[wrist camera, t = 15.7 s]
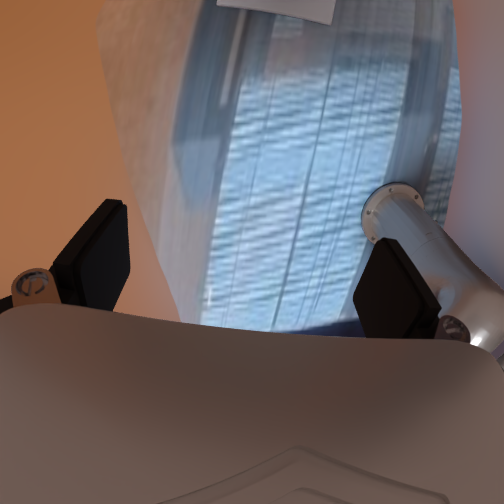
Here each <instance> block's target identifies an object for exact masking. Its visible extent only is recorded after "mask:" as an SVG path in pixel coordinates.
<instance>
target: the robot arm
mask: <svg viewBox="0 0 504 504" xmlns="http://www.w3.org/2000/svg"><path fill="white" fill-rule="evenodd" d="M361 224H362V229H363V231H364V233H365V235H366V237H367V238H368V239H369V240H370V241H371V242H372V243H373V244H375V246H374V248H373V251H372V253H371V255H370V258H369V260H368V262H367V265H366V267H365V269H364V272H363V274H362V276H361V278H360V281H359V283H358V285H357V287H356V289H355V292H354V294H353V302H354V305H355V308H356V311H357V313H358V316H359V319H360V322H361V324H362V327H363V330H364V333H365V336H366V338H352V337H331V336H314V335H299V334H286V333H273V332H262V331H251V330H241V329H232V328H223V327H214V326H206V325H198V324H190V323H182V322H174V321H168V320H161V319H154V318H147V317H142V316H136V315H130V314H124V313H118V312H113V309H114V307H115V305H116V302H117V300H118V298H119V296H120V293H121V291H122V289H123V287H124V285H125V282H126V280H127V278H128V276H129V273H130V254H129V239H128V219H127V206H126V205H125V204H123V203H122V201H121V200H115V199H106V200H105V201H104V202H103V203H102V204H101V205H100V206H99V208H97V210H96V211H95V212H94V213H93V214H92V215H91V216H90V217H89V219H88V220H87V221H86V222H85V223H84V224H83V226H82V227H81V228H80V229H79V231H78V232H77V233H76V234H75V235H74V236H73V238H72V239H71V240H70V241H69V243H68V244H67V245H66V246H65V248H64V249H63V250H62V251H61V253H60V254H59V255H58V256H57V258H56V259H55V261H54V262H53V265H52V266H51V267H50V269H49V270H46V269H42V268H33V269H29V270H27V271H24V272H23V273H21V274H20V275H18V276H17V277H16V278H15V280H14V281H13V283H12V286H11V293H12V295H10V296H8V297H5V298H3V299H0V504H504V354H502V355H501V356H500V357H499V358H497V359H495V358H494V356H493V355H491V354H490V353H491V352H492V351H493V350H494V349H495V348H496V347H497V346H498V345H499V344H500V343H501V342H502V341H503V339H504V290H503V289H502V288H501V287H500V286H499V285H498V284H497V283H496V282H495V281H493V280H492V279H491V278H490V277H489V276H488V275H486V274H485V273H484V272H483V271H482V270H481V269H479V267H477V266H476V265H475V264H474V263H473V262H472V261H471V260H470V258H469V257H468V256H467V255H466V254H465V253H464V252H463V251H462V250H461V249H460V248H459V247H458V245H457V244H456V243H455V242H454V241H453V240H452V239H451V238H450V237H449V236H448V235H447V233H446V232H445V231H444V230H443V229H442V228H441V227H440V226H439V225H438V223H437V221H436V220H433V219H432V218H431V217H430V216H429V215H428V214H427V212H426V211H425V210H424V203H423V200H422V198H421V196H420V194H419V193H418V192H417V191H416V190H415V189H414V188H412V187H411V186H409V185H407V184H403V183H392V184H388V185H385V186H383V187H381V188H380V189H378V190H377V191H376V192H374V193H373V194H372V195H371V196H370V198H369V199H368V200H367V202H366V204H365V206H364V208H363V211H362V216H361Z"/></svg>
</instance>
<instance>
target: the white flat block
mask: <svg viewBox="0 0 504 504" xmlns="http://www.w3.org/2000/svg"><path fill="white" fill-rule="evenodd" d="M335 2H336V0H217V6H222V7H232V8H241V9H249V10H256V11H263V12H269V13H275V14H280V15H285V16H290V17H295V18H300V19H304V20H308V21H312V22H316V23H320V24H324V25H328V26H330V25H331V23H332V18H333V13H334V7H335Z"/></svg>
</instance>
